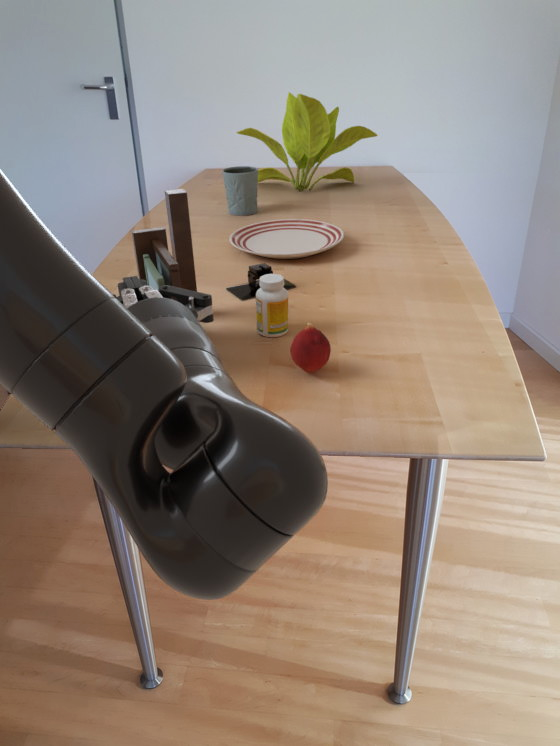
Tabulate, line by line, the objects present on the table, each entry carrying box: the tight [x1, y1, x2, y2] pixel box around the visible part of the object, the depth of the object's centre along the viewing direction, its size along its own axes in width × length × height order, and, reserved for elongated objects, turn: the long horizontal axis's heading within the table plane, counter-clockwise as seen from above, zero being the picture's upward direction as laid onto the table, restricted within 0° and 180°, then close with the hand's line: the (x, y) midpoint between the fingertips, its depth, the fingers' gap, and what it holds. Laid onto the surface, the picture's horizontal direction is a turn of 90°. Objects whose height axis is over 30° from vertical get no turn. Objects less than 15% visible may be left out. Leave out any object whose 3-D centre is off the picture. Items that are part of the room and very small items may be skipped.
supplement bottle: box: [255, 273, 289, 338], centre depth 91 cm, size 5×5×10 cm
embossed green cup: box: [221, 165, 259, 217], centre depth 158 cm, size 10×10×12 cm
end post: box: [164, 188, 198, 292], centre depth 93 cm, size 5×5×22 cm
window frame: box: [130, 226, 181, 302], centre depth 79 cm, size 8×29×18 cm, turn 22°
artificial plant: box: [236, 91, 378, 192], centre depth 181 cm, size 42×43×30 cm
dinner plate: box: [229, 218, 345, 260], centre depth 131 cm, size 27×27×3 cm
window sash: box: [143, 254, 164, 290], centre depth 80 cm, size 4×11×14 cm, turn 22°
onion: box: [289, 322, 332, 374], centre depth 79 cm, size 6×6×8 cm
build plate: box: [225, 262, 297, 301], centre depth 109 cm, size 12×7×5 cm, turn 121°
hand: (130, 285), depth 56 cm, fingers closed
